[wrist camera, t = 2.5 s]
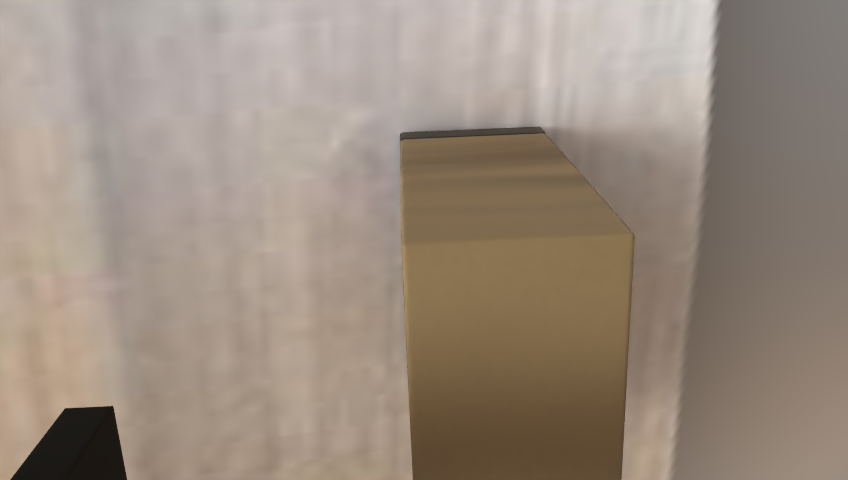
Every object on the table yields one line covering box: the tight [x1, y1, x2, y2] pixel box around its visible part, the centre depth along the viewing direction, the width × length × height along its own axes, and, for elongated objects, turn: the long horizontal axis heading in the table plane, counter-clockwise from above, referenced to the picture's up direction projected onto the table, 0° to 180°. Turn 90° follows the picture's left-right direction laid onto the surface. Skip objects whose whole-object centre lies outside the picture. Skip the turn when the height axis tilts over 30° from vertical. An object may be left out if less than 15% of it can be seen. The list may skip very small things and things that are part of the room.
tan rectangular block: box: [400, 127, 635, 480], centre depth 17 cm, size 7×4×8 cm, turn 2°
